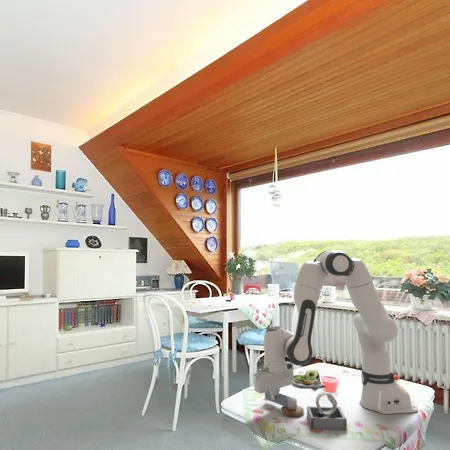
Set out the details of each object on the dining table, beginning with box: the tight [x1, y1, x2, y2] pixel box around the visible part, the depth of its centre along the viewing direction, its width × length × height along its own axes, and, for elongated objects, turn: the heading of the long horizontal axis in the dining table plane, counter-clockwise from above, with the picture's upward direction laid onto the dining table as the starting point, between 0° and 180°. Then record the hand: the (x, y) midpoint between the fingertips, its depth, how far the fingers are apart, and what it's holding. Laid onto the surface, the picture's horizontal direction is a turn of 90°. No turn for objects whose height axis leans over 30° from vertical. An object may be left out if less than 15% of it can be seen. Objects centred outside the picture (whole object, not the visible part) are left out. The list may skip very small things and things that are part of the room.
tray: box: [306, 405, 348, 431], centre depth 148 cm, size 13×11×4 cm
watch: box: [315, 391, 338, 418], centre depth 147 cm, size 6×8×11 cm
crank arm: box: [264, 391, 298, 410], centre depth 163 cm, size 16×4×6 cm, turn 41°
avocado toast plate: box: [293, 369, 322, 389], centre depth 193 cm, size 19×18×5 cm
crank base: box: [280, 405, 305, 418], centre depth 158 cm, size 9×9×2 cm
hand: (274, 399), depth 163 cm, fingers closed
